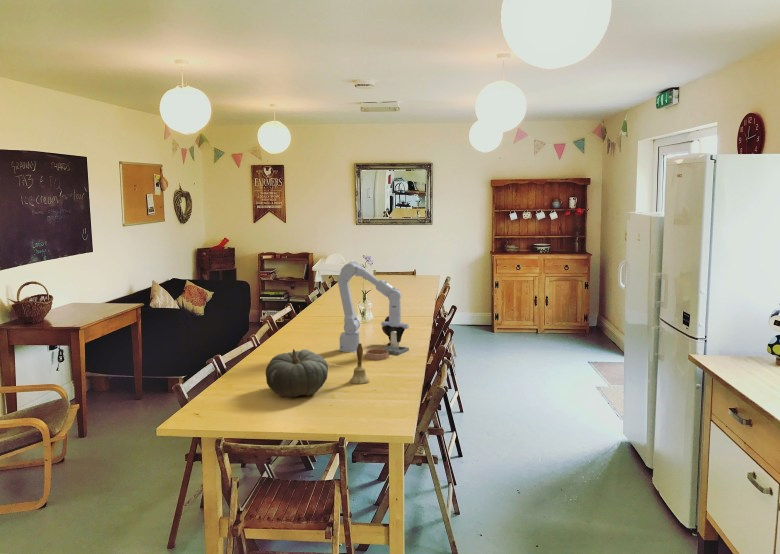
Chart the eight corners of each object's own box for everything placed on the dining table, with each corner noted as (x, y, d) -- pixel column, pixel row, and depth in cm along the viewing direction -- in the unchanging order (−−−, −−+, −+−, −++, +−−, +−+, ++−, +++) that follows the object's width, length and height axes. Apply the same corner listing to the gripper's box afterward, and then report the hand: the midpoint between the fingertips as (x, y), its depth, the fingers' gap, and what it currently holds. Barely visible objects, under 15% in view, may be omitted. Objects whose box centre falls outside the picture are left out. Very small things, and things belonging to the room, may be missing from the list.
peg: (389, 348, 299) (389, 332, 298) (393, 346, 303) (393, 330, 302) (396, 349, 297) (396, 333, 296) (400, 347, 301) (400, 331, 300)
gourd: (317, 371, 258) (314, 334, 252) (340, 398, 237) (338, 357, 231) (259, 386, 247) (255, 347, 241) (278, 415, 226) (275, 373, 220)
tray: (380, 353, 299) (380, 349, 299) (391, 349, 307) (391, 345, 307) (398, 356, 294) (398, 352, 293) (408, 351, 302) (408, 347, 302)
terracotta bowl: (362, 358, 289) (362, 352, 288) (374, 353, 298) (373, 347, 297) (381, 362, 283) (381, 355, 283) (392, 356, 292) (392, 350, 292)
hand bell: (354, 377, 259) (354, 340, 257) (372, 379, 256) (372, 342, 254) (346, 382, 252) (345, 345, 250) (364, 385, 249) (364, 346, 247)
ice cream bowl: (385, 348, 309) (385, 318, 307) (379, 342, 320) (379, 314, 318) (405, 346, 312) (405, 317, 310) (399, 341, 323) (399, 313, 321)
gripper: (377, 314, 298) (378, 341, 300) (403, 317, 291) (403, 345, 293) (385, 311, 304) (385, 338, 306) (410, 314, 297) (410, 342, 299)
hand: (394, 341), depth 300 cm, fingers closed on peg, 4 cm apart
